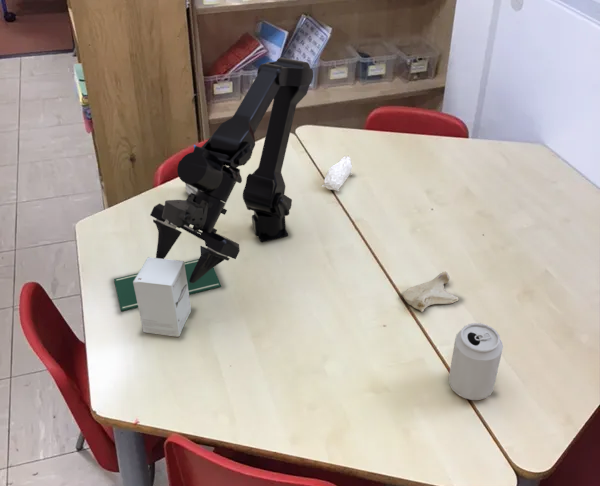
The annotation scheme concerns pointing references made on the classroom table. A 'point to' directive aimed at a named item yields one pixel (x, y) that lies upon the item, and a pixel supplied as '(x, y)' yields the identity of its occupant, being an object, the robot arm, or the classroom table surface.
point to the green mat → (203, 284)
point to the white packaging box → (162, 296)
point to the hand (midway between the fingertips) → (174, 272)
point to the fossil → (430, 293)
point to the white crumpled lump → (338, 174)
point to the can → (475, 361)
